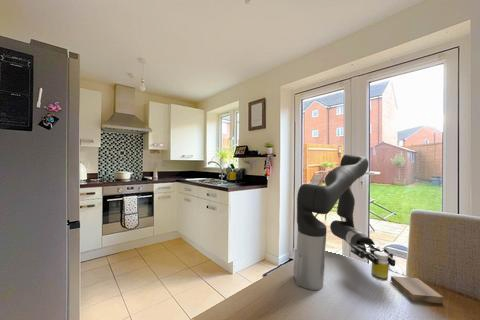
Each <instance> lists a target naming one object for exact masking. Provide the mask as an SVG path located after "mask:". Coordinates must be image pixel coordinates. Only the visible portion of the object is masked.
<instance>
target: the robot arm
mask: <svg viewBox="0 0 480 320" xmlns="http://www.w3.org/2000/svg"><path fill="white" fill-rule="evenodd" d="M368 168H369V160H368V158H366V157H365V156H363V155H352V154H344V155H343V156H342V157H341V160H340V165H339V166H337V167H334V168H333V169H332V170H330V171H329V172H327V174H326V175H325V178H324V183H325V185H318V184H310V183H303V184H301V186H300V187H299V188H298V191H297V195H296V196H297V197H296V209H297V210H296V223H297V233H296V234H297V235H296V236H297V237H296V249H295V250H294V258H293V260H294V261H293V278H294V281H295V285H296V286H298V287H302V288H303V289H306V290H311V291H316V290H317V291H318V290H321V289H322V288H323V287H324V280H325V279H324V275H325V262H326V261H325V260H326V245H327V225H326V224H325V223H324V222H322V221H320V219H318V218H317V217H316V216H315V215H314V213H315V214H318V215H327V214H328V213H330V212H331V211H332V210H333V208H334V207H335V205H336V204H337V208H336V214H337V216H339V217H341V218H344V219H345V221H344V220H337V219H336V220H335V219H334V220H333V221H331V223H330V225H329V228H330V232H331V233H332V235H333V236H335V237H337V238H339V239H341V240H344V241H345V242H346V243H347V244H348V245H349V246H350V252H351V253H352V254H354V255H355V256H356V257H358V258H360V259H366V260H367V261H370V262H371V264H372V263H374V264H375V265H378V258H377V257H376V256H374V251H380V252H384V253H386V254H387V255H388V262H389V265H390V266H391V267H395V266H396V259H394V253H393V252H392V251H391V249H390V248H387V247H384V248H381V247H379V246H377V245H376V244H375V242H374V240H373V239H371V238H370V237H369V236H367V235H366V234H365V233H363V232H361V231H360V230H358V229H357V228H355V224H354V223H355V222H354V211H355V205H356V204H355V203H356V201H355V196H354V194H353V192H352V189H351V186H352V185H353V184H354V183H355V182H356V181H357V180H358V179H360V178H362V177H363V176H364V175H365V174H366V173H367V172H368Z"/></svg>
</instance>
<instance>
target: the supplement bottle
mask: <svg viewBox="0 0 480 320" xmlns="http://www.w3.org/2000/svg"><path fill="white" fill-rule="evenodd" d="M374 256H376V257H377V258H378V265H375V264H374V263H372V262H371V273H370V276H371V277H372V278H373V279H375V280H377V281H380V282H387V281H388V278H389V265H390V264H389V262H388V255H387V254H386V253H384V252H380V251H374Z"/></svg>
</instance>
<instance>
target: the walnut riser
mask: <svg viewBox="0 0 480 320" xmlns="http://www.w3.org/2000/svg"><path fill="white" fill-rule="evenodd" d="M391 281H392V282H393V283H394V284H395V285H396V286H397V287H396V286H395V285H394V284H393V283H392V282H391ZM390 282H391V283H392V284H393V285H394V286H395V287H396V288H397V289H398V290H399V291H400V292H401V293H403V295H405V296H406V297H408V299H409V300H410V301H413V302H423V303H431V304H433V303H434V304H443V303H444V296H443V295H441V294H440V293H438V292H437V291H436V290H435V289H433V288H432V287H430V286H429V285H428V284H426V283H425V282H424V281H422V280H421V279H419V278H418V277H408V276H407V277H406V276H395V275H394V276H393V275H391V276H390Z"/></svg>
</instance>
